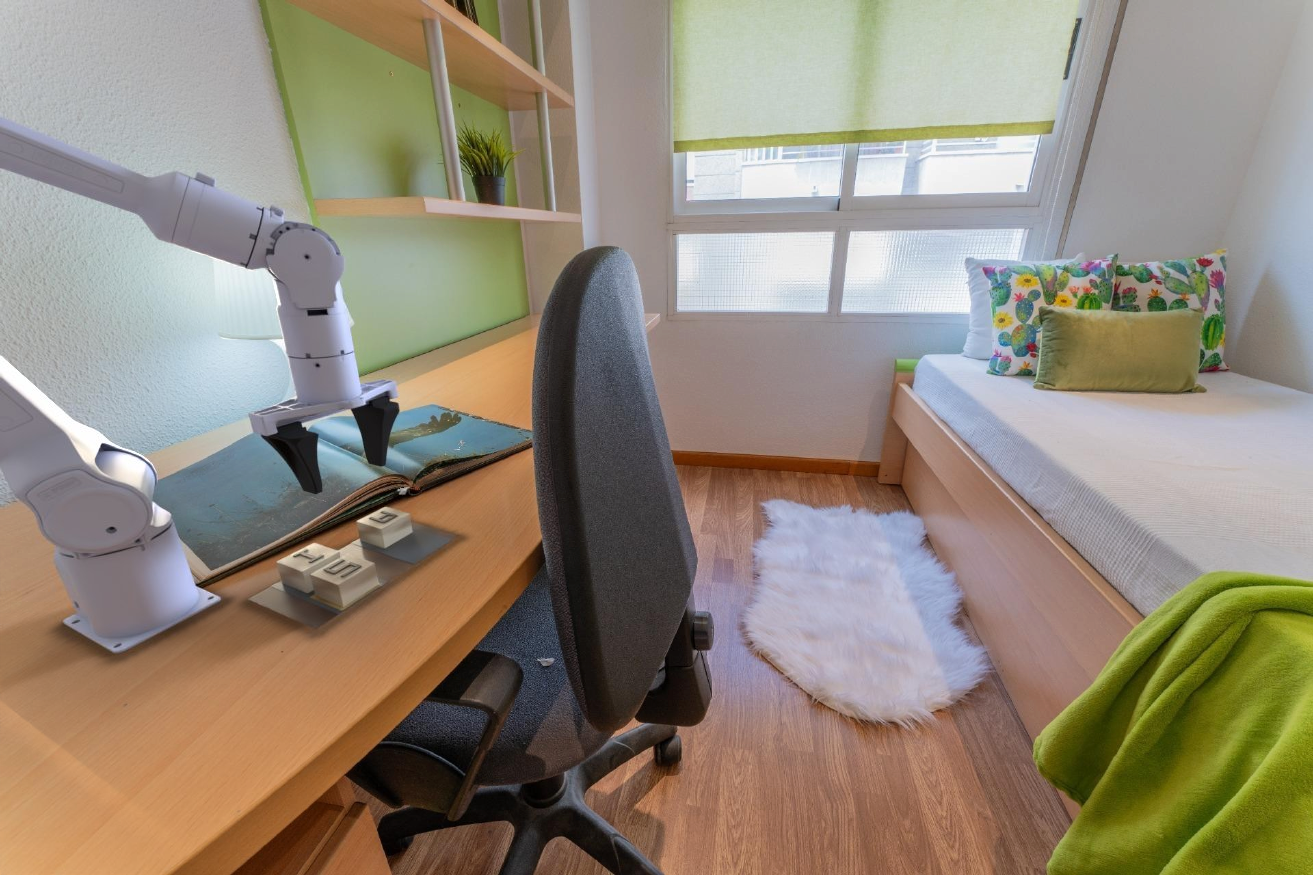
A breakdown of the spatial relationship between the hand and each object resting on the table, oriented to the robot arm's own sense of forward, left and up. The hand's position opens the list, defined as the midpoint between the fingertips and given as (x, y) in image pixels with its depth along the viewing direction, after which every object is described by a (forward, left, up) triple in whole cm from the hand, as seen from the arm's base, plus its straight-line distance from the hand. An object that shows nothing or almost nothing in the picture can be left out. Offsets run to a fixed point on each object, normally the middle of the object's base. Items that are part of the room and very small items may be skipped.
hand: (346, 477), depth 56 cm
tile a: (+1, +3, -9) cm, 10 cm away
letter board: (+3, -2, -9) cm, 10 cm away
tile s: (+6, -6, -9) cm, 12 cm away
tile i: (+1, -6, -9) cm, 11 cm away
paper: (-8, +19, -10) cm, 23 cm away
